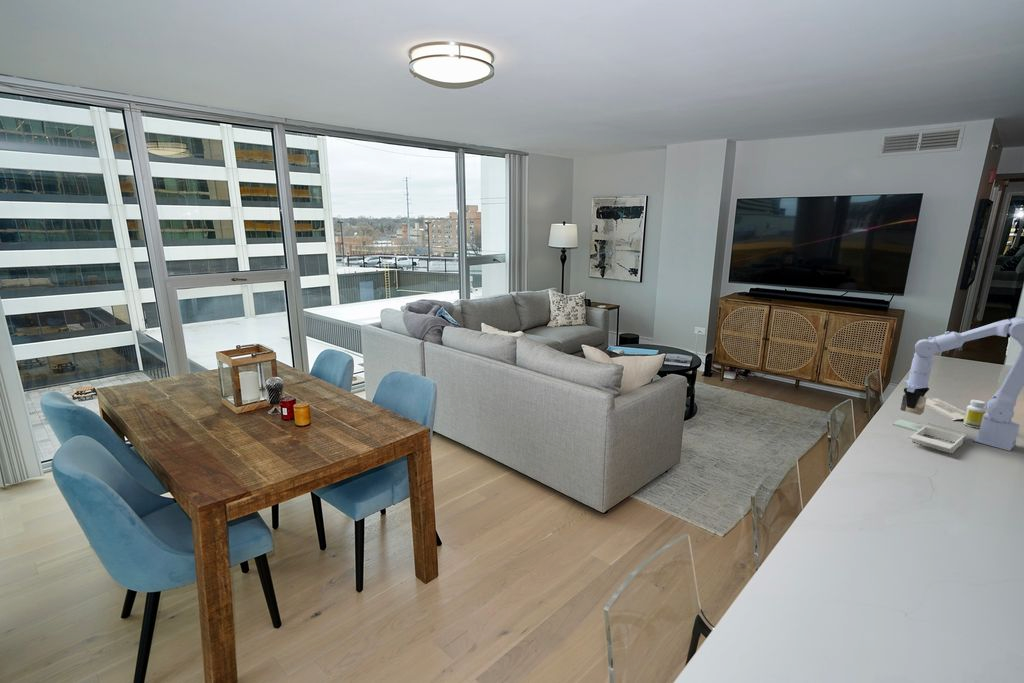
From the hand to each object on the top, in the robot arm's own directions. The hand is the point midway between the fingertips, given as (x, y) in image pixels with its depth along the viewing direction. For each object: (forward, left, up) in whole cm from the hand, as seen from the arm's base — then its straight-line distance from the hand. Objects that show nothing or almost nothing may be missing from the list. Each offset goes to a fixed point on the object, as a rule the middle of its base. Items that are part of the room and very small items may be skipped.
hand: (912, 406), depth 187 cm
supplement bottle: (-14, -20, -8) cm, 26 cm away
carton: (-11, +10, -8) cm, 17 cm away
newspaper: (-4, -32, -9) cm, 33 cm away
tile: (0, 0, -8) cm, 8 cm away
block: (0, 0, -2) cm, 2 cm away
